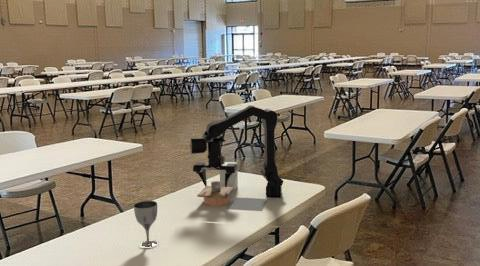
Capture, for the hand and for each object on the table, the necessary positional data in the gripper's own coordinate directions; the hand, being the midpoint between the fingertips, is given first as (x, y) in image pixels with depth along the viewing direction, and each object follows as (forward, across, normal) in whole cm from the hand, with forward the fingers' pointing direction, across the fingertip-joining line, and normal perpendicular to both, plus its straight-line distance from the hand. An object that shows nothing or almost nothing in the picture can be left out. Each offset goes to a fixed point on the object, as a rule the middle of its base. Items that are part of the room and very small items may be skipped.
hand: (215, 186), depth 204 cm
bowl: (+7, 0, 0) cm, 7 cm away
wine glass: (+8, +12, +46) cm, 48 cm away
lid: (+3, 0, 0) cm, 3 cm away
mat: (+7, -14, +1) cm, 16 cm away
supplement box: (+8, -1, -19) cm, 20 cm away
